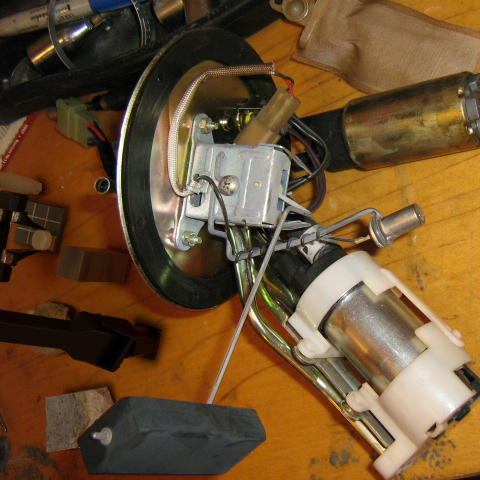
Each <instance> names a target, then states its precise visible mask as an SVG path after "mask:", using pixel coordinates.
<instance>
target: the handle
mask: <svg viewBox="0 0 480 480" xmlns="http://www.w3.org/2000/svg"><path fill="white" fill-rule="evenodd" d="M0 189H2V190H7V191H12V192H16V193H21V194H32V195H39V194H40V192H42V191H43V184H42V183H41V182H39V181H38V180H37V179H33V178H30V177H27V176H24V175H21V174H16V173H10V172H5V171H0Z"/></svg>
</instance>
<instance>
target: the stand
mask: <svg viewBox="0 0 480 480" xmlns="http://www.w3.org/2000/svg"><path fill="white" fill-rule="evenodd" d="M130 257H131V254H129V253H125V252H121V251H116V250H113V249H108V248H98V247H90V246H89V247H88V246H81V245H69V244H61V248H60V253H59V258H58V262H57V266H56V270H55V276H56V277H59V278H63V279H67V280H71V281H74V282H77V283H120V284H122V283H125V280H126V275H127V270H128V265H129V261H130Z"/></svg>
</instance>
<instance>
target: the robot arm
mask: <svg viewBox="0 0 480 480" xmlns="http://www.w3.org/2000/svg"><path fill="white" fill-rule="evenodd" d="M27 201H29V195H28V194H27V193H20V192H14V191H10V190H6V189H2V190H0V283H5V284H6V283H9V282H10V281H11V278H12V277H11V276H12V272H13V267H16V266H17V265H18V263H19V262H20V261H23V260H25V259H27V258H28V257H31V256H33V255H36V254H39V253H41V252H42V250H36V249H35V248H8V245H9V241H10V236H11V232H12V227H13V224H16V225H18V224H20V225H23V226H27V227H30V228H34V229H38V230H44V231H45V230H46V229H45V228H43V227H41V226H40V225H38V224H36V223H35V222H33V221H32V220H31V219H30V218H29V217H28V212H26V211H24V210H26V206H27ZM161 334H162V329H161V328H160V327H157V326H154V325H151V324H148V323H145V322H142V321H139V320H138V321H137V320H136V321H135V322H134V324H132V323H131V322H130V320H129V319H127V318H123V317H117V316H112V315H105V314H104V315H102V313H93V312H90V311H85V310H80V311H78V312H77V313H76V315H75V316H74V318H71V320H63V319H57V318H51V317H45V316H39V315H33V314H27V313H26V312H20V311H14V310H7V309H1V308H0V343H3V344H11V345H12V344H14V345H22V346H30V347H31V346H38V347H47V348H55V349H61V350H63V351H64V352H63V353H65V354H66V355H67V356H68V357H69V358H71V359H72V360H73V361H77V362H82V363H86V364H88V365H92V366H94V367H96V368H100V369H101V370H105V371H107V372H110V373H113V374H114V373H115V372H117V371H118V370H119V369H120V368H121V365H122V364H123V362H124V361H125V360H127V359H134V358H138V357H139V358H140V357H141V358H144V359H146V360H149V361H151V362H152V361H155V360H156V357H157V351H158V347H159V343H160V338H161Z"/></svg>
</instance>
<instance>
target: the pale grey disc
mask: <svg viewBox="0 0 480 480" xmlns="http://www.w3.org/2000/svg"><path fill="white" fill-rule="evenodd" d="M51 242H52V236H51V234H50V232H49V231H47V230H45V231H44V230H37V231H36V232H35V233H34V234H33V237H32V245H33V246H32V247H33V249H36V250H41V251H48V250H47V249H48V248H49V247H50V245H51Z"/></svg>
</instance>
